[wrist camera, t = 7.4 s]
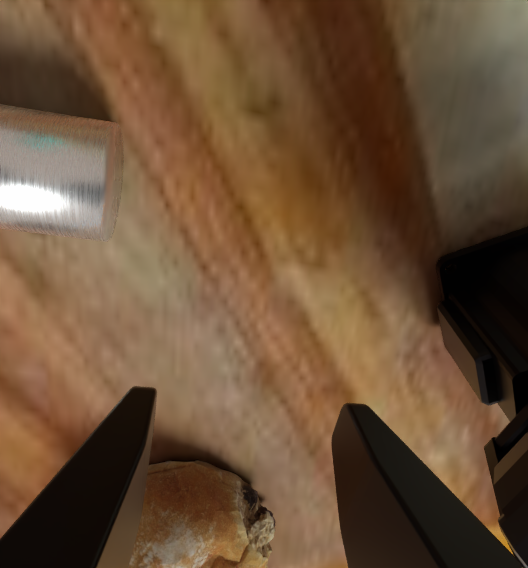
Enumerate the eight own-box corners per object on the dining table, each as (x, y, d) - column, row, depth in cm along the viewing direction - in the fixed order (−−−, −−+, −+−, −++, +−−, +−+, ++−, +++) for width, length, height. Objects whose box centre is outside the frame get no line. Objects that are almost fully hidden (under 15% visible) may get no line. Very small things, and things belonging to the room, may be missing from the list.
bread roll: (151, 397, 29) (57, 497, 22) (307, 476, 27) (256, 613, 20) (129, 500, 34) (46, 609, 27) (260, 574, 32) (207, 712, 25)
